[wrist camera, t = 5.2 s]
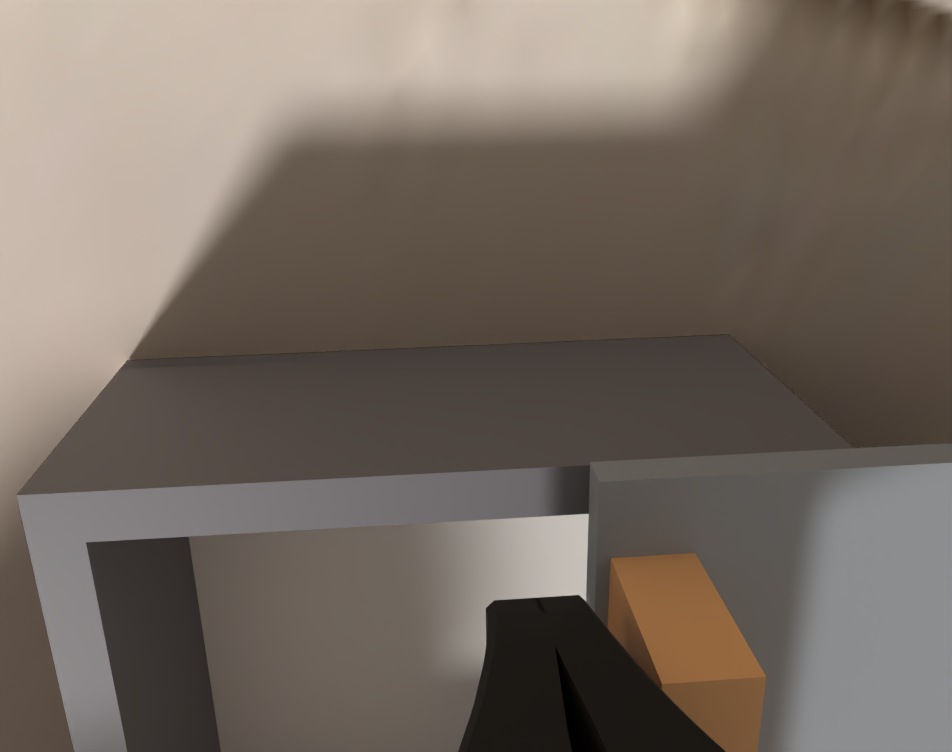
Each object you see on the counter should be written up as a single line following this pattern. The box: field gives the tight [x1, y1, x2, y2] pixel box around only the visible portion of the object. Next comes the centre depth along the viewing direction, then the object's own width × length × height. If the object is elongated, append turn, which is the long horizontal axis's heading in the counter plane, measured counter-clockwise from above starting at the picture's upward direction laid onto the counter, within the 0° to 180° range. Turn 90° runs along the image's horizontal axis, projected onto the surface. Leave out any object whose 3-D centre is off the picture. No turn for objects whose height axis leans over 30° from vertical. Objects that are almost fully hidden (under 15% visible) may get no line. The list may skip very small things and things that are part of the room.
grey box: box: [16, 335, 853, 752], centre depth 18 cm, size 12×12×6 cm
